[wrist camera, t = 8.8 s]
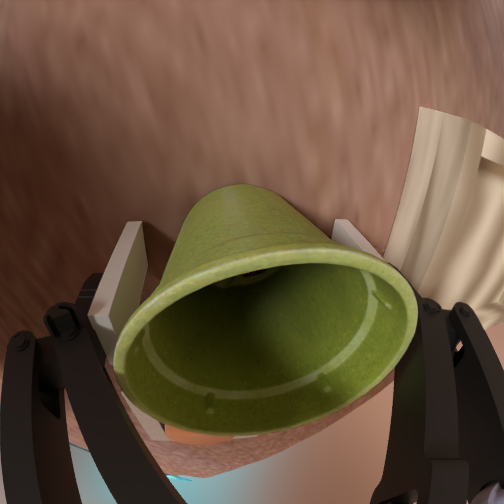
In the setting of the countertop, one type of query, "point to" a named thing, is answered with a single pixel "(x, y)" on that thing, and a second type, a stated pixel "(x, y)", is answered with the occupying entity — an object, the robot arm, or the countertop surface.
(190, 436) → the button
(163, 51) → the countertop surface
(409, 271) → the tray
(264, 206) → the plant pot
